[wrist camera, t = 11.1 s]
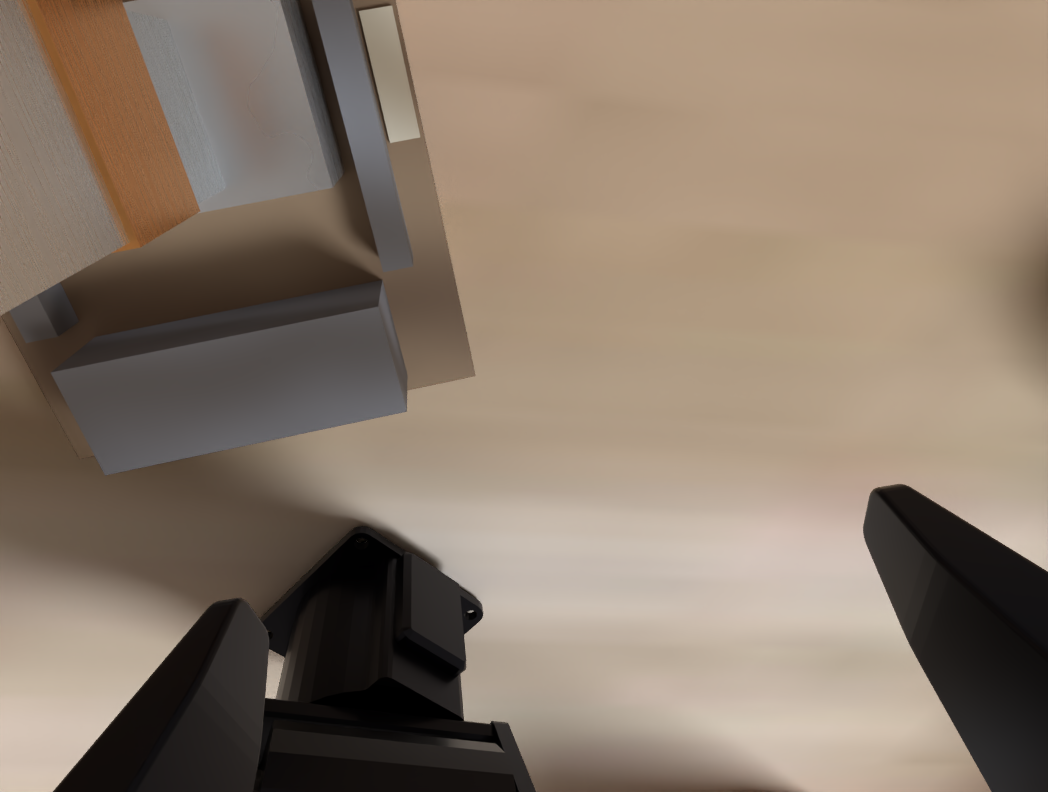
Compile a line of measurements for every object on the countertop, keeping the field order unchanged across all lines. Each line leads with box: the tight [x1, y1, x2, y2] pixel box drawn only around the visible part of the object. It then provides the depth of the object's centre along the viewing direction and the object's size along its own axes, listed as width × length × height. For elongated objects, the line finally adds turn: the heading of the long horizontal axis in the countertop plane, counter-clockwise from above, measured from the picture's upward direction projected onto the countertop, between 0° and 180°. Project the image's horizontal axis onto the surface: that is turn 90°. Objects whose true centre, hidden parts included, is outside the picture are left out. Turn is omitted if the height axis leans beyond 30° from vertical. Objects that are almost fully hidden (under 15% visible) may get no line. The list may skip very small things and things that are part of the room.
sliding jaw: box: [0, 0, 345, 316], centre depth 11 cm, size 4×8×12 cm, turn 99°
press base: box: [1, 0, 475, 475], centre depth 16 cm, size 18×12×4 cm, turn 9°
